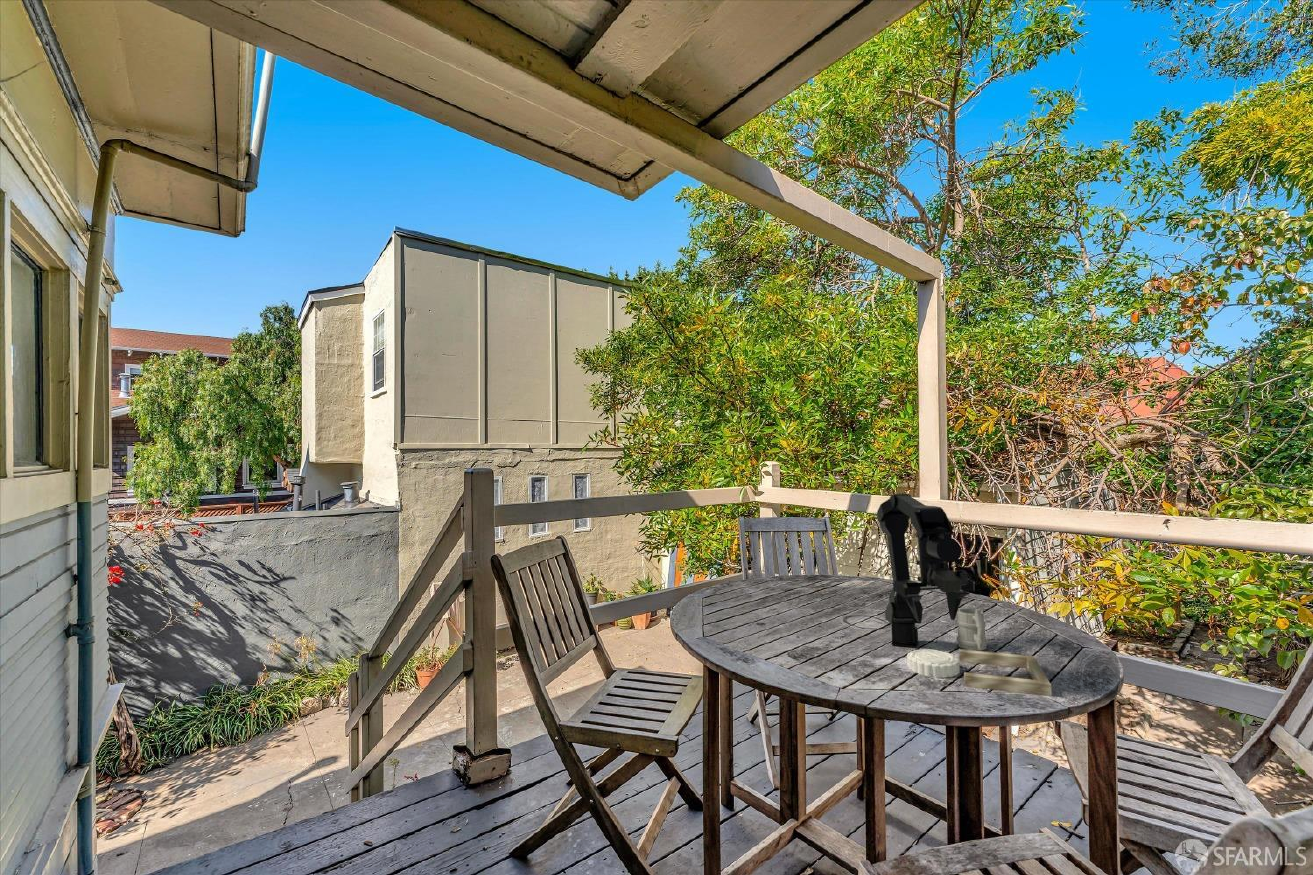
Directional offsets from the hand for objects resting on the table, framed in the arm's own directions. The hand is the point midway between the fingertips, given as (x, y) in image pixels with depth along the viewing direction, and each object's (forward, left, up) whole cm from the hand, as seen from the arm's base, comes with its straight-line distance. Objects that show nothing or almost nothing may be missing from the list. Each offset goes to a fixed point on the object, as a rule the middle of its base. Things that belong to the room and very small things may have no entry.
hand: (935, 620), depth 144 cm
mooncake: (-1, +3, -13) cm, 14 cm away
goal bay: (+13, +3, -13) cm, 18 cm away
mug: (+10, +22, -13) cm, 27 cm away
